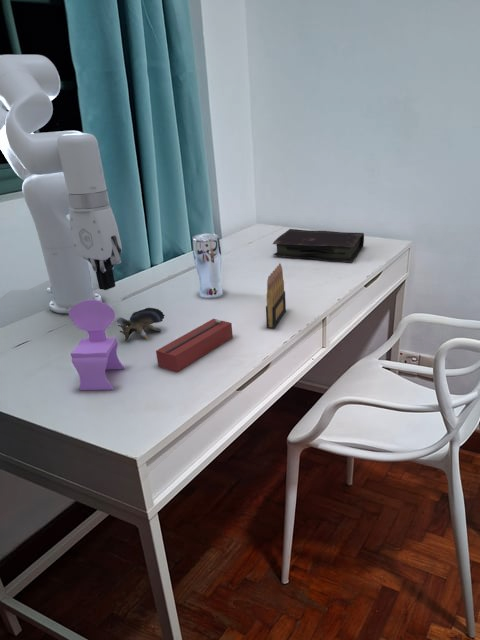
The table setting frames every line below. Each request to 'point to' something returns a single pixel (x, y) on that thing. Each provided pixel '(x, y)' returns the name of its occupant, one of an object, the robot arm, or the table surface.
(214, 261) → the beer glass
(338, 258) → the diary
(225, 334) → the pencil case
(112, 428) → the table surface
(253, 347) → the table surface
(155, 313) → the eagle figurine
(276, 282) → the ammunition clip
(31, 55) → the robot arm
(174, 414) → the table surface
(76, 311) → the toy chair
